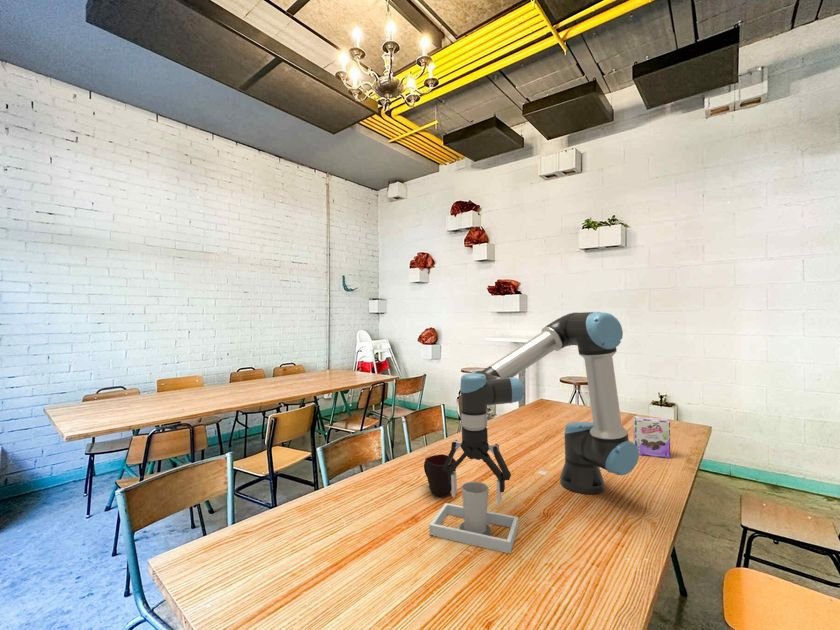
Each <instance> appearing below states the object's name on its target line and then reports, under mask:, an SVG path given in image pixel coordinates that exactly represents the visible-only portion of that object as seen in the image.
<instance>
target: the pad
mask: <svg viewBox="0 0 840 630" xmlns="http://www.w3.org/2000/svg"><path fill="white" fill-rule="evenodd" d="M459 529H460V530H465V521H463V522H462V523H461V524H460V526H459ZM491 530H492V529H491V527H490V525H489V523H486V531H485V532H484V533H481V534H483V535H488V536H491V533H492V532H491ZM465 531H466V530H465Z"/></svg>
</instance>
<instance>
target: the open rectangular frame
mask: <svg viewBox="0 0 840 630" xmlns="http://www.w3.org/2000/svg"><path fill="white" fill-rule="evenodd" d="M447 516H453V517H458V518H463V519H464V508H463V505H457V504H452V503H447V502H445V503H444V504H443V505H442V507H441V508H440V509H439V511H438V512H437V514H436V515H435V516H434V518H433V519H432V521H431V522H430V523H429V524H428V525H429V528H428V529H429V535H428V536H431V535H433V536H432V537H435V536H438V537H437V538H439V537H441V538H440V539H444V538H445V539H444V540H448V539H449V540H448V541H453V542H457V541H458V542H457V543H461V542H462V543H461V544H465V543H466V545H470V544H471V546H474V545H475V547H478V546H479V548H484V549H487V550H492V551H495V552H496V551H498V552H500V553H506V554H508V555H509V554H511V552H512V549H513V546H514V542H515V539H516V536H517V533H518V530H519V517H518V516H515V515H508V514H505V513H504V514H503V513H498V512H494V511H488V510H487V518H486V524H492V525H496V526H502V527H505V528H506V527H507V528H510V530H509V533H508V536H507V539H506V538H501V537H497V536H494V535H493V536H492V535H489V536H488V535H483V534H479V533H474V532H470V531H465V530H460V528H455V527H449V526H445V525H440V524H442V523H443V522H444V520H445V519H446V517H447Z"/></svg>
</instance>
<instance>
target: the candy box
mask: <svg viewBox="0 0 840 630" xmlns="http://www.w3.org/2000/svg"><path fill="white" fill-rule="evenodd" d="M632 439H633V441H632V442H633V443H634V444H635V445H636V446H637V448H638V451H639V456H643V457H644V456H647V457H655V458H660V459H661V458H663V459H671V422H670V421H669V419H668V418H661V417H649V416H647V417H646V416H637V415H633V437H632Z"/></svg>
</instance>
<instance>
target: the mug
mask: <svg viewBox="0 0 840 630" xmlns="http://www.w3.org/2000/svg"><path fill="white" fill-rule="evenodd" d="M447 457H448V455H447V454H434V455H430V456H428V457H426V458H425V460H424V462H423V470H424V473H425V476H426V478H427V483H428V486H429V487H428V488H429V490H430V492H431V495H433V496H434V497H437V498H439V499H440V498H445V497H448V496H449V495H450V494H452V486H451V484H449V483H448V473H447V472H445V471H442V468H443V465H444V463H445V461H446V459H447ZM456 461H457V459H455V458H454V457H453V458H452V460H451V463H450V465H449V467H452V466H453V465H454V463H455V462H456ZM456 470H457V468H456V469H455V470H454V471H453V472H456ZM456 473H457V472H456Z"/></svg>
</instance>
